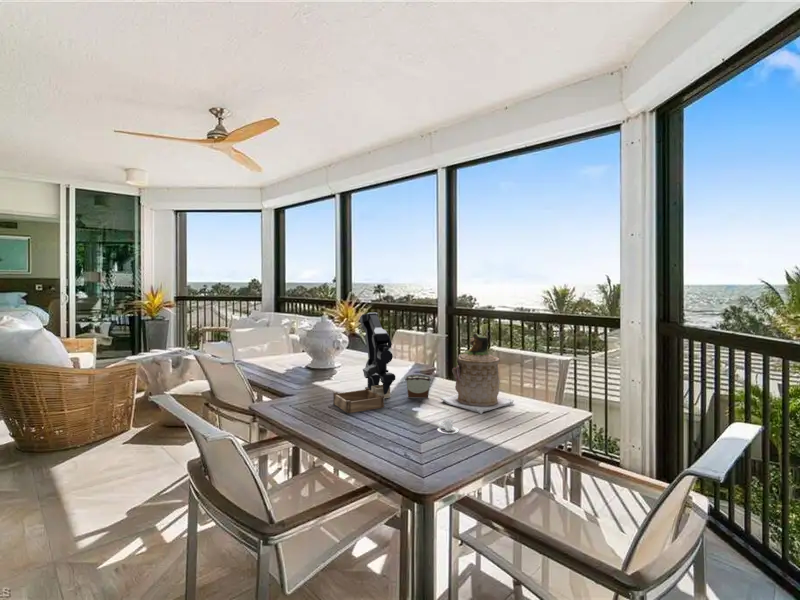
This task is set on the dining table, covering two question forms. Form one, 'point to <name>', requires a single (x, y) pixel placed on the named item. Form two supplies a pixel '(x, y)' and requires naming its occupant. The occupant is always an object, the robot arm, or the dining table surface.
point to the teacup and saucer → (447, 426)
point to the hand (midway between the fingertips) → (380, 392)
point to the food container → (418, 385)
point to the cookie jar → (477, 379)
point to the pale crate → (380, 390)
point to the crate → (358, 400)
